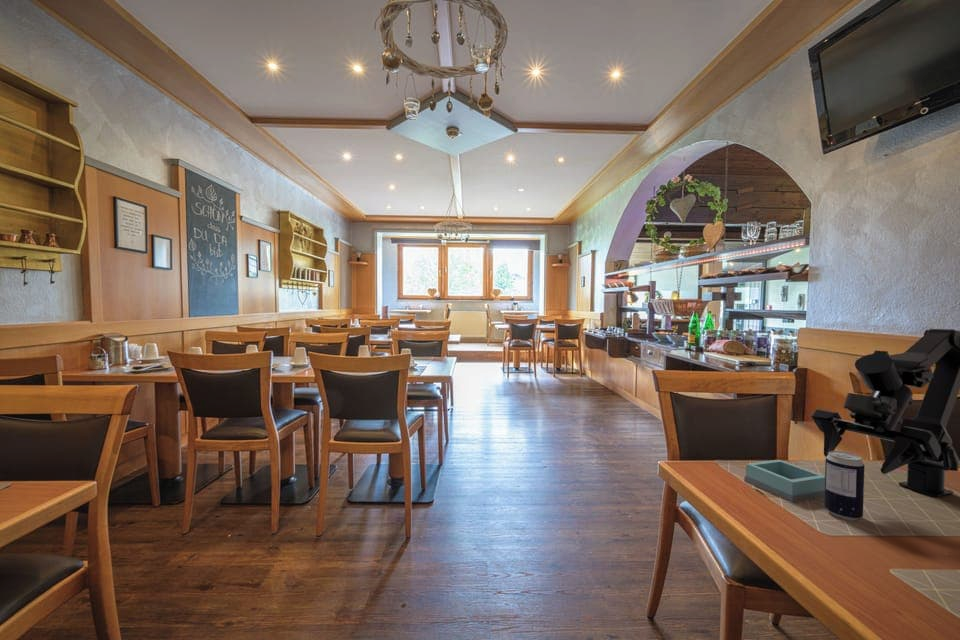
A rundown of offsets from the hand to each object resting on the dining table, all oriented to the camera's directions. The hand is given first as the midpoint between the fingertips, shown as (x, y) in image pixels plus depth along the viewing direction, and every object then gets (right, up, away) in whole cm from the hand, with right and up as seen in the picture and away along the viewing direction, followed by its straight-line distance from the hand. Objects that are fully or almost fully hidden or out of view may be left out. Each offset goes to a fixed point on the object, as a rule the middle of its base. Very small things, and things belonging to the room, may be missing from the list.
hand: (852, 463), depth 79 cm
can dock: (-5, -10, +11) cm, 15 cm away
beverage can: (-3, -10, -1) cm, 11 cm away
